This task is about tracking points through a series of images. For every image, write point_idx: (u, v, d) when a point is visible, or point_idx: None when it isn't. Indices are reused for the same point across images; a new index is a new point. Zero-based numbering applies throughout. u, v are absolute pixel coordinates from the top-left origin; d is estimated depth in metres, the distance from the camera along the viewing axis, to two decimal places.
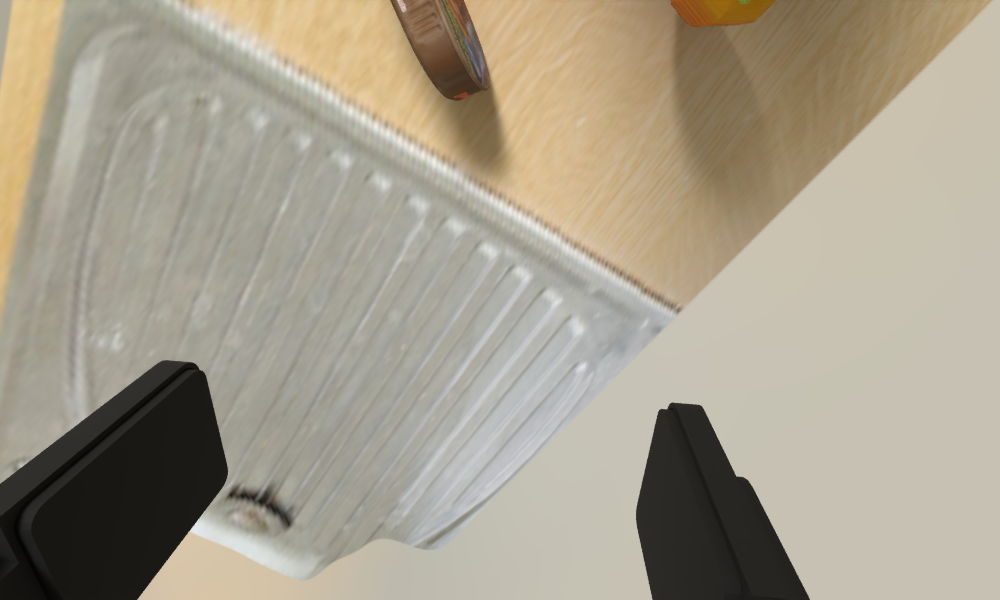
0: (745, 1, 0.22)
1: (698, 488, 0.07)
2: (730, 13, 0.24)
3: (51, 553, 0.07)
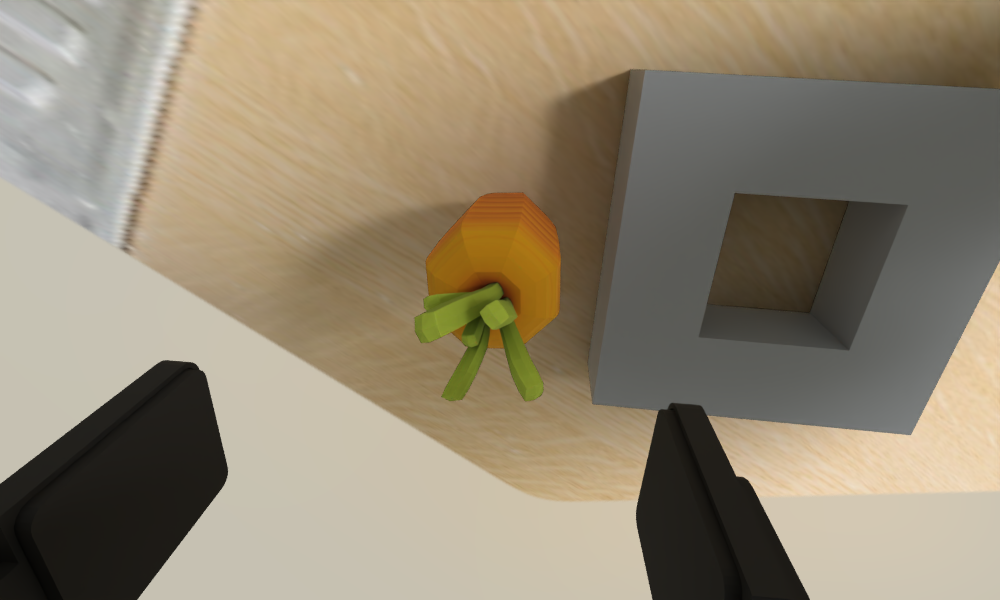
0: (425, 305, 0.15)
1: (698, 488, 0.07)
2: (431, 281, 0.16)
3: (51, 553, 0.07)
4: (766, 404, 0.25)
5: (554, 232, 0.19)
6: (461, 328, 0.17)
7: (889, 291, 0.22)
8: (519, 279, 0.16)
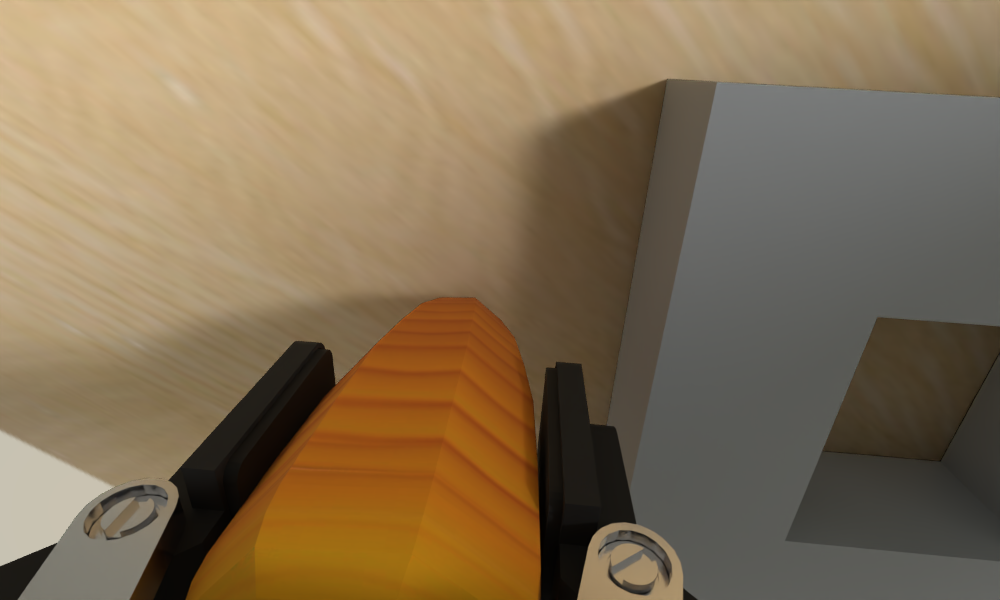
0: None
1: (554, 427, 0.09)
2: None
3: None
4: None
5: (529, 432, 0.09)
6: None
7: None
8: None
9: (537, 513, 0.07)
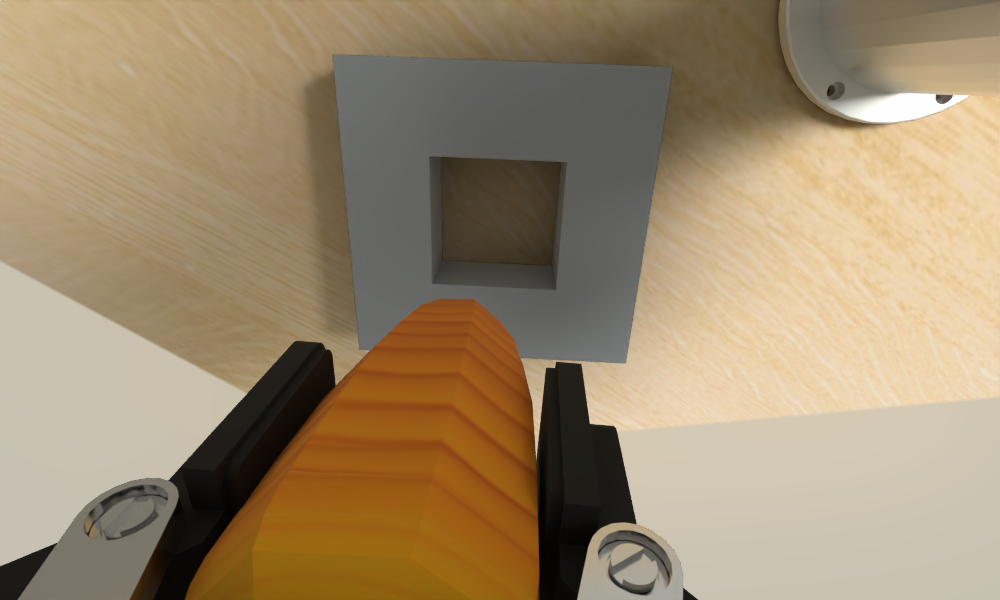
0: None
1: (554, 427, 0.09)
2: None
3: None
4: None
5: (528, 435, 0.09)
6: None
7: (573, 237, 0.27)
8: None
9: (536, 516, 0.07)
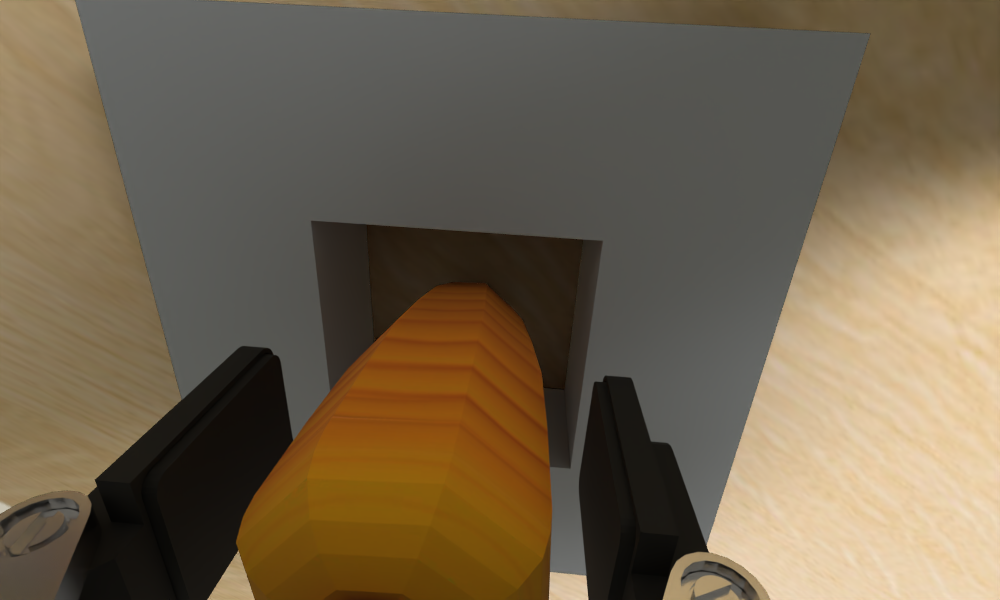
0: None
1: (614, 447, 0.08)
2: None
3: (169, 517, 0.07)
4: None
5: (539, 399, 0.10)
6: None
7: None
8: None
9: (548, 465, 0.08)
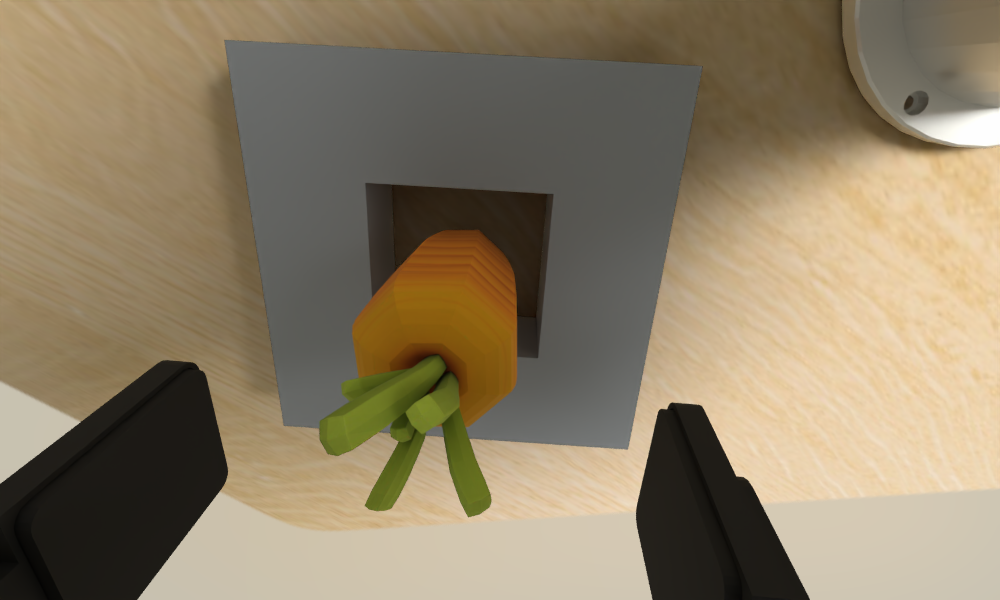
0: (343, 392, 0.12)
1: (698, 488, 0.07)
2: (358, 351, 0.13)
3: (51, 553, 0.07)
4: None
5: (511, 282, 0.16)
6: None
7: (561, 292, 0.20)
8: (465, 351, 0.13)
9: (515, 306, 0.15)
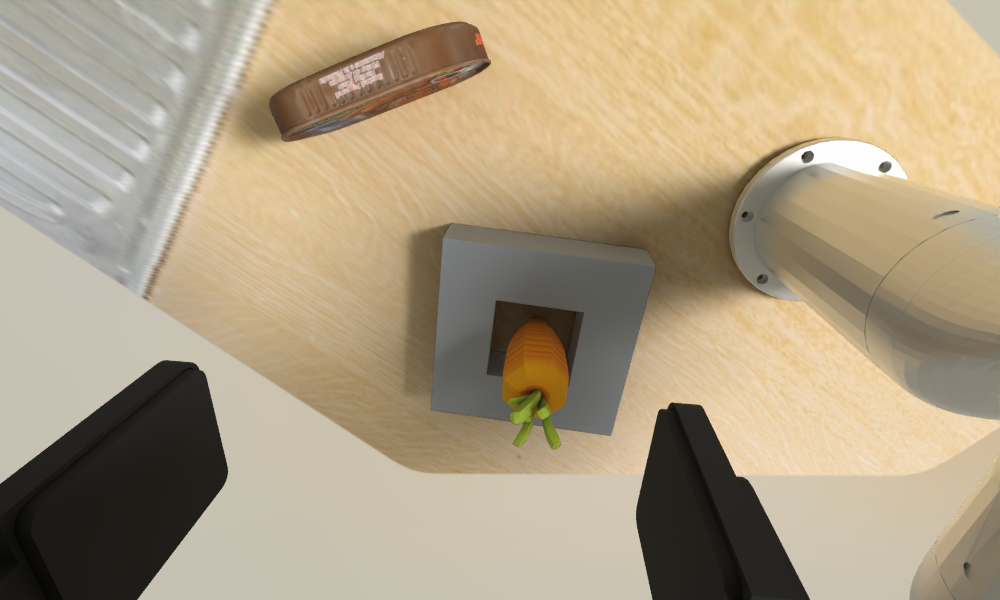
0: (509, 403, 0.32)
1: (698, 488, 0.07)
2: (506, 385, 0.34)
3: (51, 553, 0.07)
4: None
5: (564, 356, 0.37)
6: None
7: (583, 356, 0.41)
8: (550, 389, 0.33)
9: (567, 369, 0.35)
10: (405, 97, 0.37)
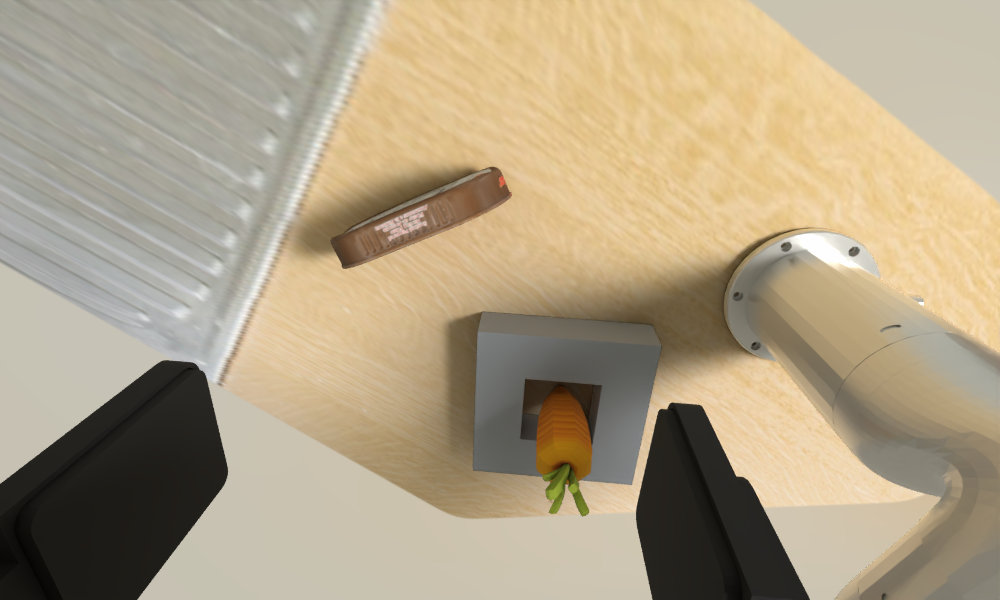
0: (543, 478, 0.39)
1: (698, 488, 0.07)
2: (540, 460, 0.40)
3: (51, 553, 0.07)
4: None
5: (587, 427, 0.43)
6: (551, 478, 0.41)
7: (603, 420, 0.47)
8: (577, 463, 0.40)
9: (590, 441, 0.42)
10: None
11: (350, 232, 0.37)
